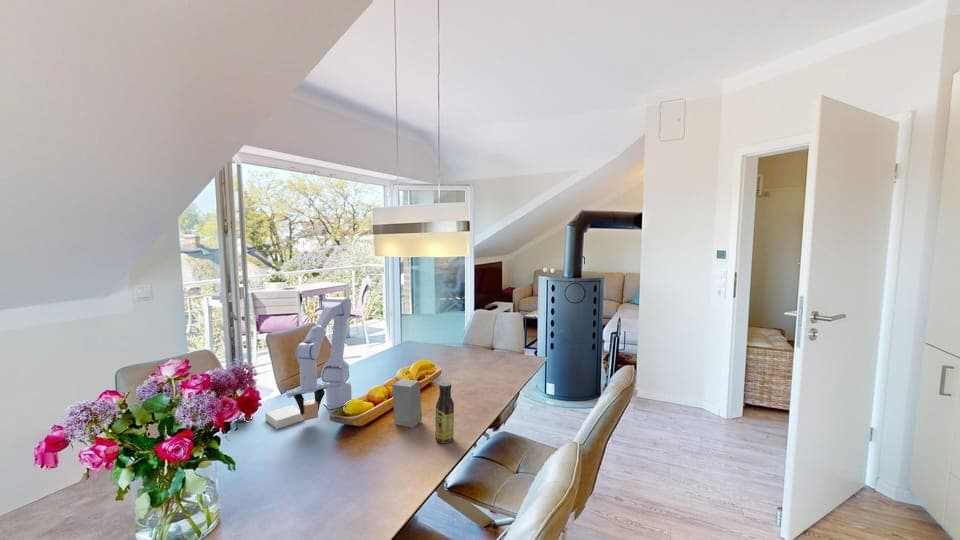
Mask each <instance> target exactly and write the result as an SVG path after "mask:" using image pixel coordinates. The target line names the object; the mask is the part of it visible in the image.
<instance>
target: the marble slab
mask: <svg viewBox="0 0 960 540" xmlns="http://www.w3.org/2000/svg"><path fill="white" fill-rule="evenodd" d="M302 421H305V420H304V419H303V418H302V416H301V413H300V409H299V407H297V406H296V405H295V404H294V405H293V404H291V405H290V404H289V405H287V406H284V407H280V408H277V409H273V410H271V411H267V412H265V422H266V423H267V422H268V424H270V425H271V426H272V427H274V428H275V429H276V430H278V429H280V428H284V427H286V426H289V425H292V424H296V423H299V422H302Z"/></svg>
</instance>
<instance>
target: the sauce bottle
mask: <svg viewBox="0 0 960 540" xmlns="http://www.w3.org/2000/svg"><path fill="white" fill-rule="evenodd" d="M438 385H439V386H438V388H439V395H438V398H437V402H436V404H435V417H434V418H435V419H434V420H435V422H434V424H435V428H434V429H435V431H434V435H435V441H436V442H438V443H439V444H449V443H451V442H453V439H454V434H455V432H454V431H455V430H454V427H455V425H454V424H455V408H454V407H455V404H454V401H453V398H452V396H451V395H452V394H451V393H452V392H451V390H452V383H451V382H449V381H441V382H439V384H438Z"/></svg>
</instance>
